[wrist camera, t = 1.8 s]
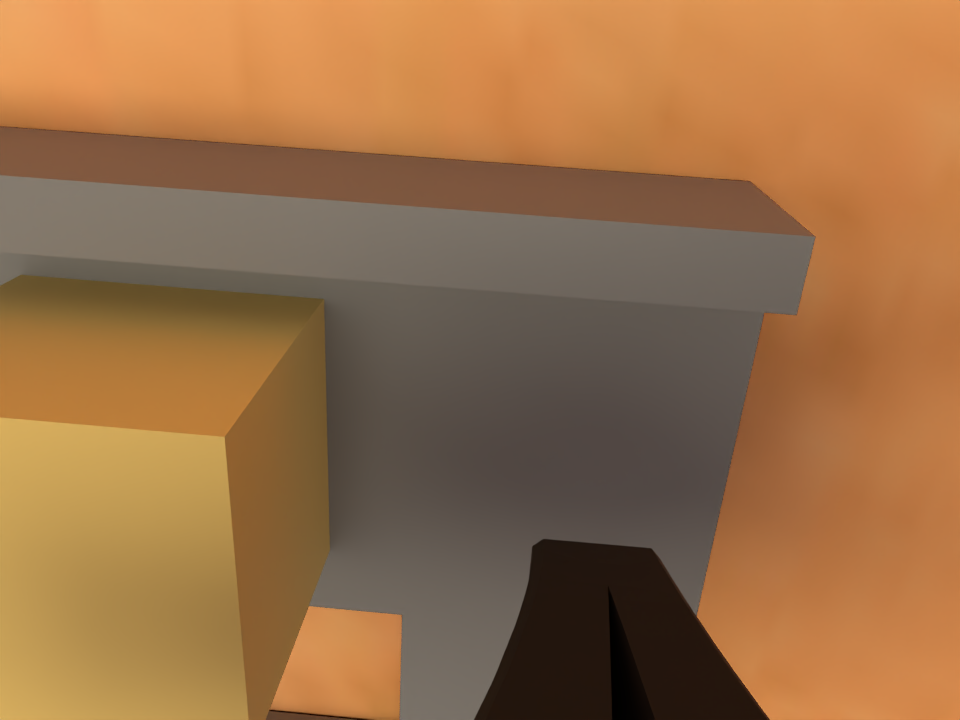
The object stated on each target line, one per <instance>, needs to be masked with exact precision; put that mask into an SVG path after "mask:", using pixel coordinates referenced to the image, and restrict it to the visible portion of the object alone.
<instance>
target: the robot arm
mask: <svg viewBox="0 0 960 720" xmlns="http://www.w3.org/2000/svg"><path fill="white" fill-rule="evenodd" d="M474 720H770V719H769V718H768V717H767V715H766V714H765V713H764V712H763V710H762V709H761V707H760V706H759V705H758V703H757V702H756V701H755V699H754V698H753V696H752V695H751V694H750V692H749V691H748V690H747V688H746V687H745V685H744V684H743V683H742V681H741V680H740V679H739V677H738V676H737V674H736V673H735V672H734V670H733V669H732V667H731V666H730V665H729V663H728V662H727V661H726V659H725V658H724V656H723V655H722V653H721V652H720V650H719V649H718V648H717V646H716V645H715V643H714V642H713V640H712V639H711V637H710V636H709V634H708V633H707V631H706V630H705V628H704V627H703V625H702V624H701V622H700V621H699V619H698V618H697V616H696V615H695V613H694V612H693V610H692V609H691V607H690V606H689V604H688V603H687V601H686V599H685V598H684V596H683V595H682V593H681V592H680V590H679V588H678V587H677V585H676V584H675V582H674V580H673V579H672V577H671V576H670V574H669V572H668V571H667V569H666V568H665V566H664V564H663V563H662V561H661V559H660V558H659V557H658V555H657V554H656V553H655V552H654V551H653V549H652V548H644V547H633V546H621V545H610V544H598V543H587V542H575V541H563V540H552V539H542V540H541V541H539V542H538V543H536V544H535V545H533V546H532V553H531V563H530V572H529V581H528V585H527V589H526V593H525V596H524V599H523V603H522V606H521V609H520V612H519V615H518V618H517V621H516V624H515V627H514V629H513V632H512V634H511V637H510V639H509V642H508V644H507V647H506V650H505V652H504V655H503V657H502V660H501V662H500V665H499V667H498V670H497V672H496V674H495V677H494V679H493V681H492V683H491V686H490V688H489V690H488V692H487V694H486V696H485V698H484V700H483V702H482V704H481V706H480V708H479V710H478V712H477V714H476V716H475V718H474Z"/></svg>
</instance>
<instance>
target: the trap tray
mask: <svg viewBox="0 0 960 720" xmlns="http://www.w3.org/2000/svg"><path fill="white" fill-rule="evenodd" d="M814 241H815V236H814V235H813V234H812V233H810V232H809V231H808V230H807V229H806V228H805V227H803V226H802V225H801V224H800V223H799V222H797V221H796V220H795V219H794V218H793V217H792V216H790V215H789V214H788V213H787V212H786V211H784V210H783V209H782V208H781V207H780V206H779V205H777V204H776V203H775V202H774V201H773V200H771V199H770V198H769V197H768V196H767V195H765V194H764V193H763V192H762V191H761V190H760V189H758V188H757V187H756V186H755V185H754V184H752V183H751V182H750V181H737V180H724V179H710V178H697V177H683V176H669V175H655V174H642V173H628V172H615V171H601V170H587V169H574V168H560V167H546V166H533V165H519V164H505V163H492V162H478V161H464V160H451V159H437V158H423V157H410V156H396V155H382V154H369V153H355V152H341V151H328V150H314V149H300V148H287V147H273V146H259V145H246V144H232V143H218V142H205V141H191V140H177V139H164V138H150V137H136V136H123V135H109V134H95V133H82V132H68V131H54V130H41V129H27V128H13V127H0V286H1V285H3V284H4V283H6V282H8V281H10V280H12V279H14V278H16V277H18V276H20V275H30V276H42V277H55V278H67V279H80V280H92V281H105V282H117V283H130V284H142V285H155V286H167V287H180V288H192V289H205V290H217V291H230V292H242V293H255V294H267V295H280V296H292V297H305V298H317V299H324V319H325V362H326V405H327V447H328V490H329V533H330V551H329V554H328V557H327V559H326V562H325V565H324V567H323V570H322V572H321V575H320V578H319V580H318V583H317V586H316V588H315V591H314V594H313V596H312V599H311V601H310V604H309V606H314V607H325V608H335V609H346V610H357V611H367V612H378V613H388V614H399V615H402V644H401V685H400V720H474V718H475V716H476V714H477V712H478V710H479V708H480V706H481V704H482V702H483V700H484V698H485V696H486V694H487V692H488V690H489V688H490V686H491V683H492V681H493V679H494V677H495V674H496V672H497V670H498V667H499V665H500V662H501V660H502V657H503V655H504V652H505V650H506V647H507V644H508V642H509V639H510V637H511V634H512V632H513V629H514V627H515V624H516V621H517V618H518V615H519V612H520V609H521V606H522V603H523V599H524V596H525V593H526V589H527V585H528V581H529V572H530V563H531V553H532V546H533V545H535V544H536V543H538V542H539V541H541V540H542V539H552V540H563V541H575V542H587V543H598V544H610V545H621V546H633V547H644V548H652V549H653V551H654V552H655V553H656V554H657V555H658V557H659V558H660V559H661V561H662V563H663V564H664V566H665V568H666V569H667V571H668V572H669V574H670V576H671V577H672V579H673V580H674V582H675V584H676V585H677V587H678V588H679V590H680V592H681V593H682V595H683V596H684V598H685V599H686V601H687V603H688V604H689V606H690V607H691V609H692V610H693V612H694V613H695V615H696V616H697V611H698V607H699V602H700V598H701V593H702V589H703V585H704V580H705V576H706V571H707V567H708V562H709V558H710V553H711V549H712V544H713V540H714V535H715V531H716V526H717V522H718V517H719V513H720V508H721V504H722V500H723V495H724V491H725V486H726V482H727V477H728V473H729V468H730V464H731V459H732V455H733V450H734V446H735V441H736V437H737V432H738V428H739V423H740V419H741V415H742V410H743V406H744V401H745V397H746V392H747V388H748V383H749V379H750V374H751V370H752V365H753V361H754V356H755V352H756V347H757V343H758V339H759V334H760V330H761V325H762V321H763V316H764V313H777V314H789V315H797V311H798V307H799V303H800V299H801V295H802V290H803V286H804V282H805V278H806V274H807V270H808V266H809V261H810V257H811V253H812V249H813V245H814ZM266 720H355V719H345V718H335V717H325V716H315V715H305V714H295V713H285V712H274V711H269V712H268V715H267V717H266Z"/></svg>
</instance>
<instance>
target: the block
mask: <svg viewBox="0 0 960 720" xmlns="http://www.w3.org/2000/svg"><path fill="white" fill-rule="evenodd" d="M329 551H330V533H329V490H328V447H327V405H326V362H325V319H324V299H317V298H305V297H292V296H280V295H267V294H255V293H242V292H230V291H217V290H205V289H192V288H180V287H167V286H155V285H142V284H130V283H117V282H105V281H92V280H80V279H67V278H55V277H42V276H30V275H20V276H18V277H16V278H14V279H12V280H10V281H8V282H6V283H4V284H3V285H1V286H0V720H266V717H267V715H268V712H269V709H270V707H271V704H272V701H273V699H274V696H275V694H276V691H277V688H278V686H279V683H280V680H281V678H282V675H283V673H284V670H285V667H286V665H287V662H288V659H289V657H290V654H291V651H292V649H293V646H294V644H295V641H296V638H297V636H298V633H299V630H300V628H301V625H302V622H303V620H304V617H305V615H306V612H307V609H308V607H309V604H310V601H311V599H312V596H313V594H314V591H315V588H316V586H317V583H318V580H319V578H320V575H321V572H322V570H323V567H324V565H325V562H326V559H327V557H328V554H329Z"/></svg>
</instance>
